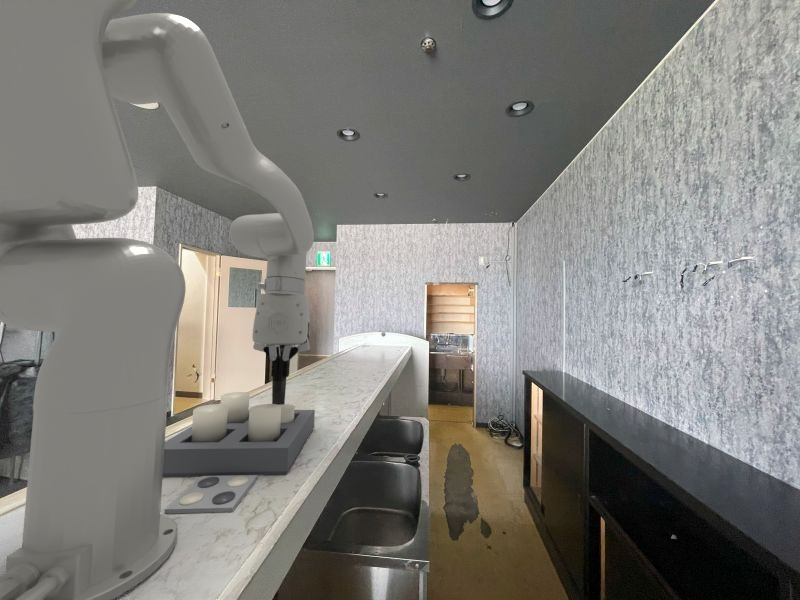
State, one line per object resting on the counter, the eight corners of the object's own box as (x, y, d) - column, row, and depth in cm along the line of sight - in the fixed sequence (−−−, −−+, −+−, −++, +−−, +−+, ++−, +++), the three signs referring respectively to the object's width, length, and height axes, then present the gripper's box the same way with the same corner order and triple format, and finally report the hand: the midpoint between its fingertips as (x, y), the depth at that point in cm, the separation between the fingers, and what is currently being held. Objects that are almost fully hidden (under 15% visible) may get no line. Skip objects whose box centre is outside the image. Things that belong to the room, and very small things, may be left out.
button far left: (241, 425, 59) (242, 398, 59) (214, 425, 58) (215, 398, 59) (252, 416, 64) (253, 392, 64) (227, 416, 63) (228, 392, 64)
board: (287, 474, 47) (288, 447, 48) (149, 477, 46) (151, 449, 46) (314, 428, 67) (314, 409, 68) (218, 429, 66) (219, 410, 66)
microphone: (271, 430, 66) (275, 335, 67) (255, 423, 70) (259, 334, 71) (299, 422, 71) (302, 334, 73) (282, 416, 75) (285, 333, 77)
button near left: (217, 444, 50) (218, 412, 50) (184, 444, 49) (186, 412, 50) (231, 432, 55) (233, 404, 55) (202, 433, 54) (203, 404, 55)
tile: (232, 511, 38) (232, 505, 38) (164, 513, 38) (164, 507, 38) (257, 478, 46) (257, 473, 46) (201, 479, 46) (202, 474, 46)
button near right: (274, 443, 50) (275, 412, 51) (242, 443, 50) (244, 412, 50) (283, 432, 55) (284, 403, 56) (255, 432, 55) (256, 403, 55)
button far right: (289, 438, 59) (290, 411, 60) (262, 438, 59) (263, 411, 59) (296, 428, 64) (297, 404, 64) (271, 429, 64) (272, 404, 64)
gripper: (239, 285, 59) (231, 383, 57) (319, 287, 60) (314, 384, 58) (255, 290, 66) (248, 377, 64) (325, 292, 67) (321, 378, 65)
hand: (279, 380), depth 61 cm, fingers closed
